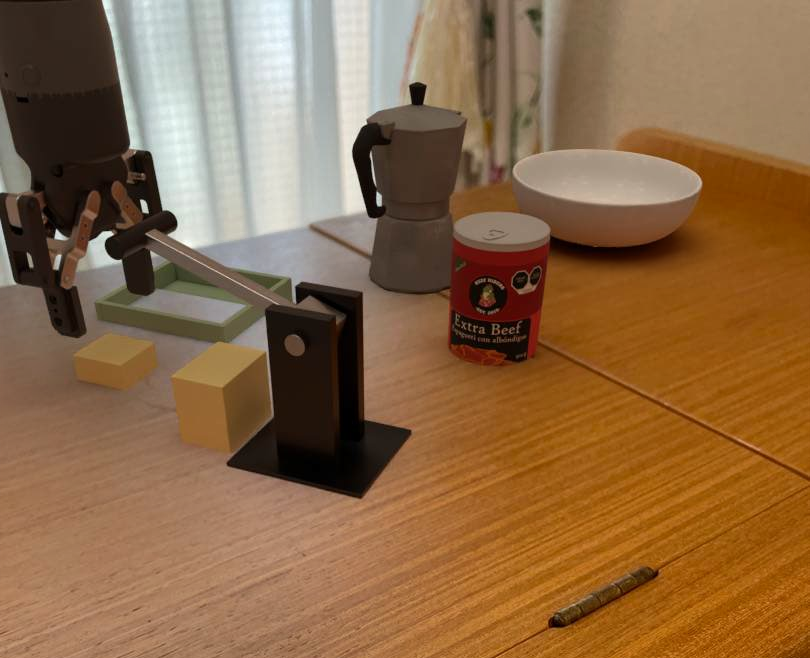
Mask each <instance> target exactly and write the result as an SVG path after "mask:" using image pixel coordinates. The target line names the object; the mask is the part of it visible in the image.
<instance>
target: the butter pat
mask: <svg viewBox="0 0 810 658" xmlns="http://www.w3.org/2000/svg"><path fill="white" fill-rule="evenodd" d="M72 360H73V364H74V368H75V369H74V370H75V372H76V376H77V377H76V378H77V380H78V381H81V382H86V383H91V384H95V385H98V386H99V385H100V386H104V387H109V388H113V389H118V390H121V391H127V390H128V389H129V388H131V387H132V386H134V385H135V384H137V383H138V382H140V381H141V380H142V379H143V378H145V377H147V376H148V375H149V374H150V373H152V372H153V371H155V370H156V369H158V368H159V367H160V366H159V359H158V354H157V348H156V343H155V342H154V341H150V340H146V339H145V340H144V339H139V338H134V337H131V336H125V335H120V334H116V333H111V332H107V333H105V334H104V335H102V336H100V337H99V338H98V339H96V340H95V341H94V340H93V342H91V343H89V344H88V345H86V346H84V347H83V348H81V349H79V350H78V351H76V352H75V353H73V354H72Z"/></svg>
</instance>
